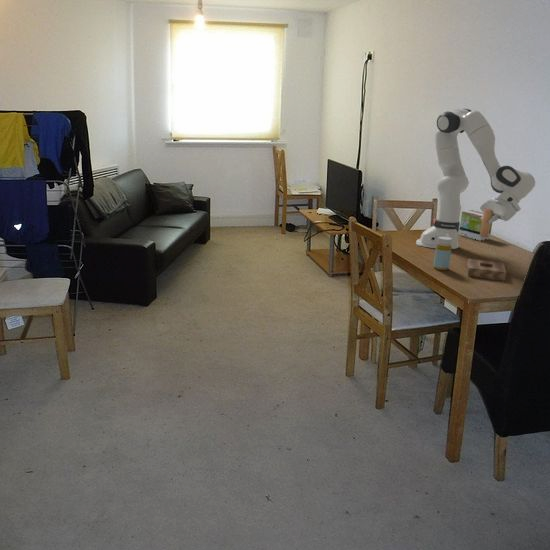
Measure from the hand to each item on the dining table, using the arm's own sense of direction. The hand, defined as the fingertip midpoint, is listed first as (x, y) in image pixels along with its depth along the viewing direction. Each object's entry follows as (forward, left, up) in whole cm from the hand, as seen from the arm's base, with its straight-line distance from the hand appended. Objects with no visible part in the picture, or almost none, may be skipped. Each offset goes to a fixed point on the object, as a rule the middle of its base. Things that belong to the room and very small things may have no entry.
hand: (485, 221), depth 269 cm
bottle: (-17, -16, -22) cm, 32 cm away
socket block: (+3, -15, -21) cm, 27 cm away
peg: (+1, 0, -7) cm, 7 cm away
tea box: (0, +58, -22) cm, 62 cm away
